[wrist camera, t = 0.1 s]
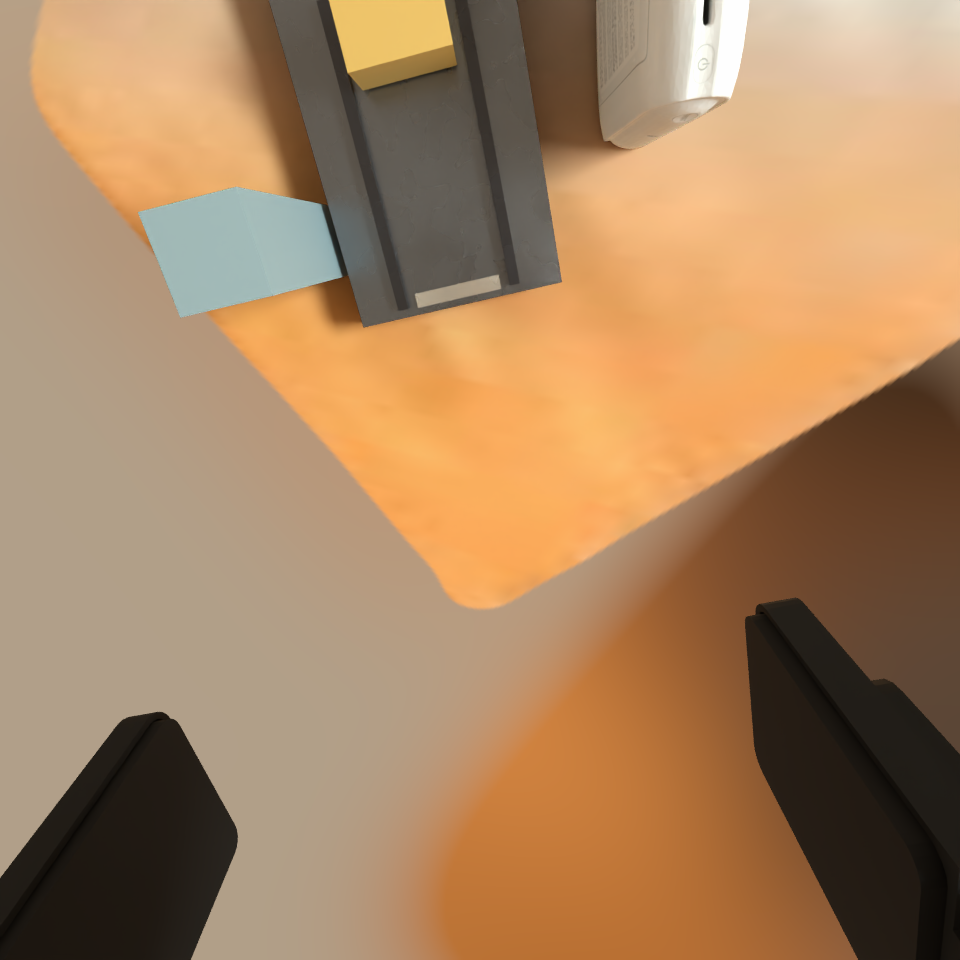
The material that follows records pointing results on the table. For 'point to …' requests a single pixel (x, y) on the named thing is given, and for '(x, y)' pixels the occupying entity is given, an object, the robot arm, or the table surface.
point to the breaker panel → (428, 164)
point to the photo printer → (664, 64)
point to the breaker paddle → (392, 39)
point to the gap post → (241, 247)
